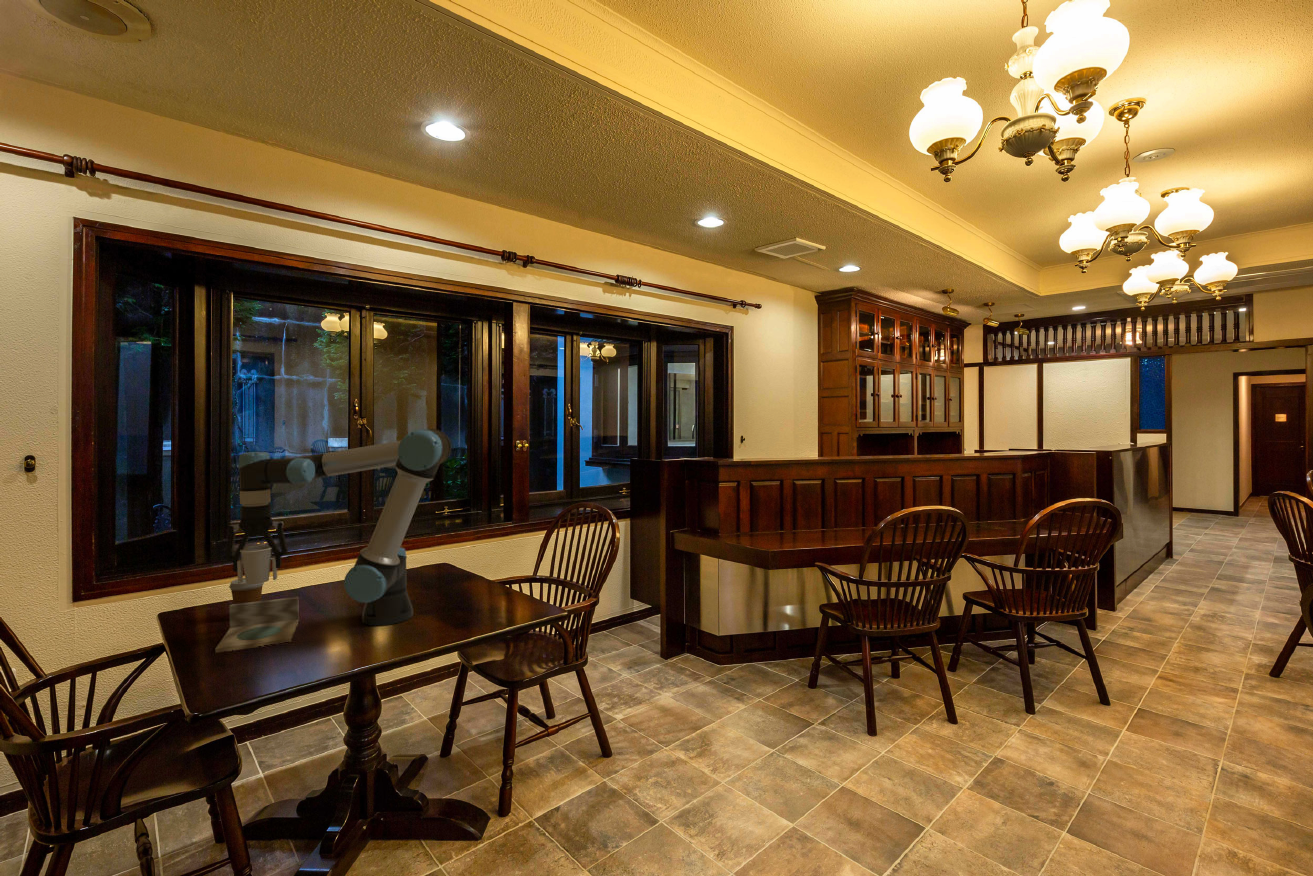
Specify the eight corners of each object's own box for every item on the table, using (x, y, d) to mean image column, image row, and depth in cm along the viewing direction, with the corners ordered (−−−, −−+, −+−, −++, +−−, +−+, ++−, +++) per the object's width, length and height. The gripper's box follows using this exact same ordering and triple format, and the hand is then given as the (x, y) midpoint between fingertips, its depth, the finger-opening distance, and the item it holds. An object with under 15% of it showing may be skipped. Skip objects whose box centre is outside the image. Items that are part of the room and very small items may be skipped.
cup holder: (298, 621, 193) (298, 597, 193) (290, 642, 175) (289, 615, 175) (231, 630, 185) (230, 604, 185) (215, 652, 168) (214, 624, 167)
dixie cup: (277, 581, 179) (276, 548, 178) (243, 587, 173) (242, 552, 173) (270, 576, 185) (270, 543, 184) (238, 581, 179) (237, 547, 179)
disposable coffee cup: (272, 613, 202) (271, 577, 201) (245, 622, 193) (244, 585, 192) (249, 610, 204) (248, 575, 204) (222, 619, 195) (221, 583, 195)
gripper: (298, 500, 186) (300, 573, 187) (216, 505, 177) (218, 581, 178) (294, 503, 179) (297, 579, 180) (209, 508, 170) (212, 588, 171)
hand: (258, 580), depth 179 cm, fingers closed on dixie cup, 8 cm apart
